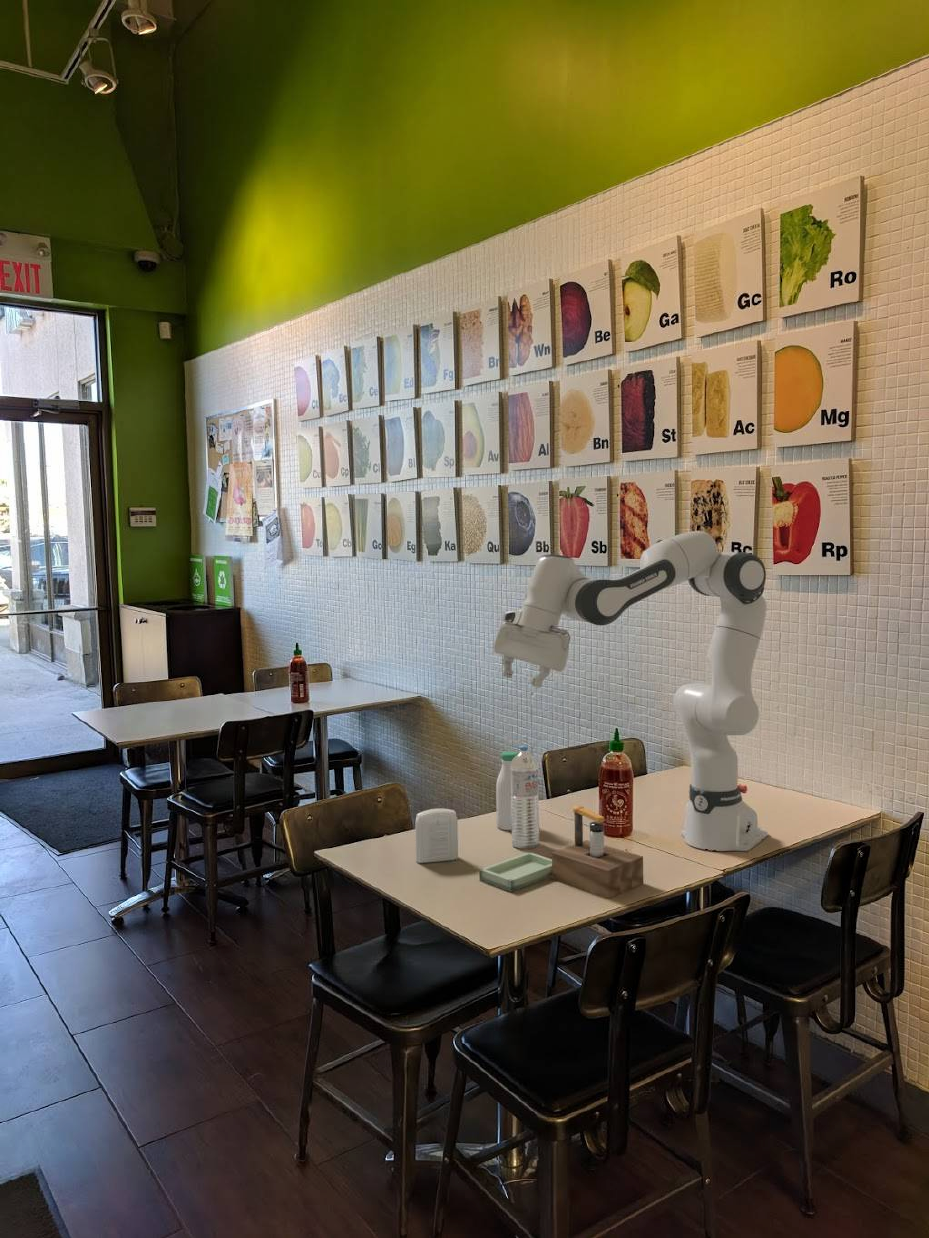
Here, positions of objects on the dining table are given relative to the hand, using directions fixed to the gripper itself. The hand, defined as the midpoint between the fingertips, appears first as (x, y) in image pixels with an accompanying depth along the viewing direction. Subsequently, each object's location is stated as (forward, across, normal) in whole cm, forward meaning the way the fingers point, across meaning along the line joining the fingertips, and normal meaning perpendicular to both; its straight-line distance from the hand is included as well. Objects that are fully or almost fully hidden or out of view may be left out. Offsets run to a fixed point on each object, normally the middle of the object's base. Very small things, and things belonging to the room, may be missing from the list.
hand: (521, 681), depth 205 cm
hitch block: (+37, -21, -20) cm, 47 cm away
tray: (+42, -7, -10) cm, 44 cm away
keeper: (+24, -16, -16) cm, 33 cm away
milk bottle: (+39, +20, -34) cm, 55 cm away
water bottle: (+39, +7, -26) cm, 48 cm away
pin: (+38, -21, -20) cm, 47 cm away
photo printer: (+47, +15, -5) cm, 49 cm away
